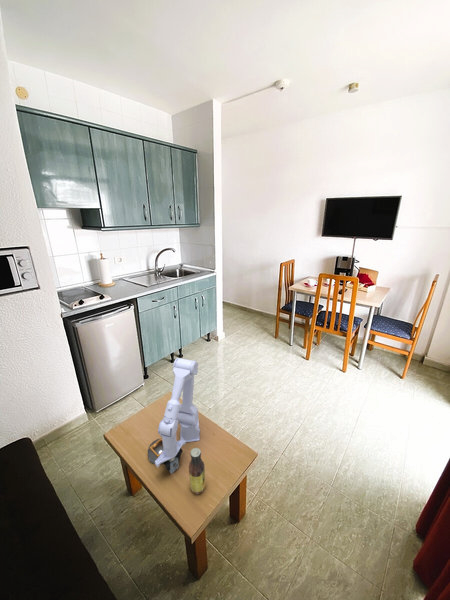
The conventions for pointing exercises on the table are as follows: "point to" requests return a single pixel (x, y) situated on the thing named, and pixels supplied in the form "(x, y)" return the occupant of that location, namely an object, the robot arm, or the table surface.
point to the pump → (173, 464)
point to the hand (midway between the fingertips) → (172, 465)
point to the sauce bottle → (196, 472)
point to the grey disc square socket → (155, 450)
